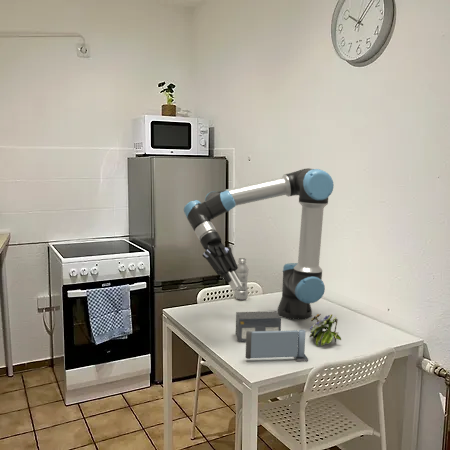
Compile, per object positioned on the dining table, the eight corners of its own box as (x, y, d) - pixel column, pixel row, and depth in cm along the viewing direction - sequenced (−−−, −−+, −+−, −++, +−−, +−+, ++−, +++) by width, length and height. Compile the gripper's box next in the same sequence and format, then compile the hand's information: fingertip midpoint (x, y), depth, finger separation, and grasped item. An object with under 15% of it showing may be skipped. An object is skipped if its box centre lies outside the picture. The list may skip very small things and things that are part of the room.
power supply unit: (275, 333, 195) (276, 311, 194) (280, 341, 187) (281, 318, 186) (235, 334, 193) (236, 312, 192) (239, 342, 185) (239, 319, 183)
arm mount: (304, 356, 173) (304, 354, 173) (307, 361, 170) (308, 358, 169) (293, 356, 173) (293, 354, 173) (296, 361, 169) (296, 359, 169)
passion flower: (314, 353, 192) (316, 320, 198) (345, 354, 186) (346, 319, 192) (303, 344, 182) (305, 309, 188) (336, 344, 176) (337, 308, 182)
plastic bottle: (238, 301, 235) (239, 260, 232) (232, 298, 241) (233, 258, 238) (250, 300, 238) (251, 259, 235) (243, 296, 244) (244, 257, 241)
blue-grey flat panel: (303, 354, 172) (304, 329, 171) (305, 357, 170) (306, 332, 169) (244, 356, 170) (245, 331, 168) (246, 359, 167) (247, 333, 166)
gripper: (217, 240, 194) (246, 290, 185) (189, 244, 185) (217, 297, 175) (227, 228, 190) (257, 279, 180) (198, 232, 180) (228, 286, 171)
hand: (237, 288), depth 178 cm, fingers closed
